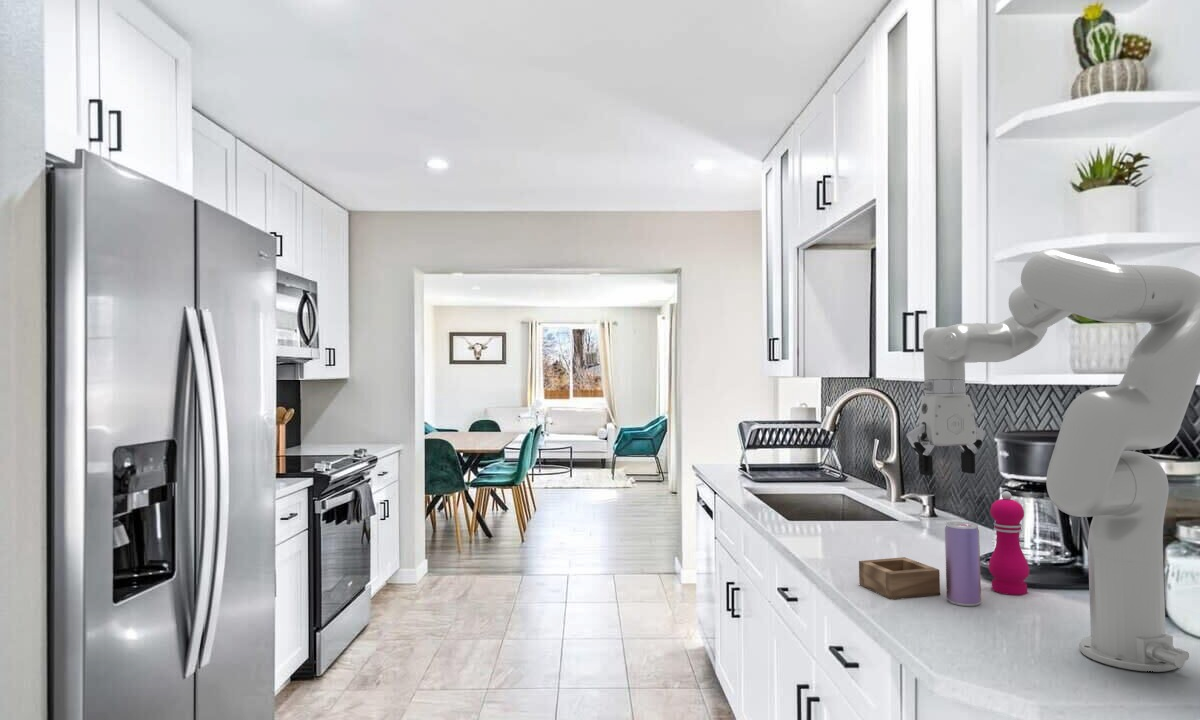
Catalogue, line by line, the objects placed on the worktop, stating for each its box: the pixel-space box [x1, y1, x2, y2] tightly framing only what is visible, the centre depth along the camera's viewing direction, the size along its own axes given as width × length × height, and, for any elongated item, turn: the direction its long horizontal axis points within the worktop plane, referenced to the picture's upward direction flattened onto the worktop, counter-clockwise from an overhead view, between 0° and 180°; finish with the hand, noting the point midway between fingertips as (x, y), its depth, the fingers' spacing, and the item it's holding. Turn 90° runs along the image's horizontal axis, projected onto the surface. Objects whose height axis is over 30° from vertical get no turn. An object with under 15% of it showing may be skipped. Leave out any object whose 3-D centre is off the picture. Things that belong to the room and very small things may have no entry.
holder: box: [858, 556, 941, 600], centre depth 155 cm, size 11×11×5 cm
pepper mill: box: [988, 491, 1030, 596], centre depth 153 cm, size 7×7×20 cm
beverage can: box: [944, 520, 982, 607], centre depth 146 cm, size 6×6×15 cm
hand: (947, 473), depth 152 cm, fingers open, 9 cm apart
